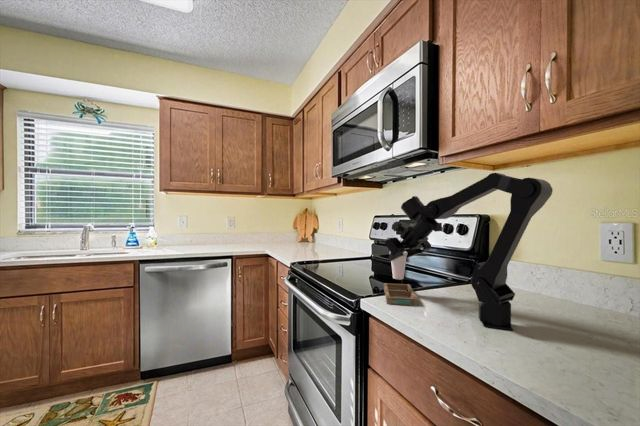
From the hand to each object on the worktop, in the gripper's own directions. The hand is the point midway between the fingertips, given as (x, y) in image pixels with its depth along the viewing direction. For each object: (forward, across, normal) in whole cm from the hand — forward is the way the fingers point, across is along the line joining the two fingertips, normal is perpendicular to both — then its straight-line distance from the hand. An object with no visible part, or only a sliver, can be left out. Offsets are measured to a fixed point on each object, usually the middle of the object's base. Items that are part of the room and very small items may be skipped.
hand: (395, 259), depth 102 cm
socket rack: (+6, +2, +11) cm, 13 cm away
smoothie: (+4, 0, +6) cm, 7 cm away
